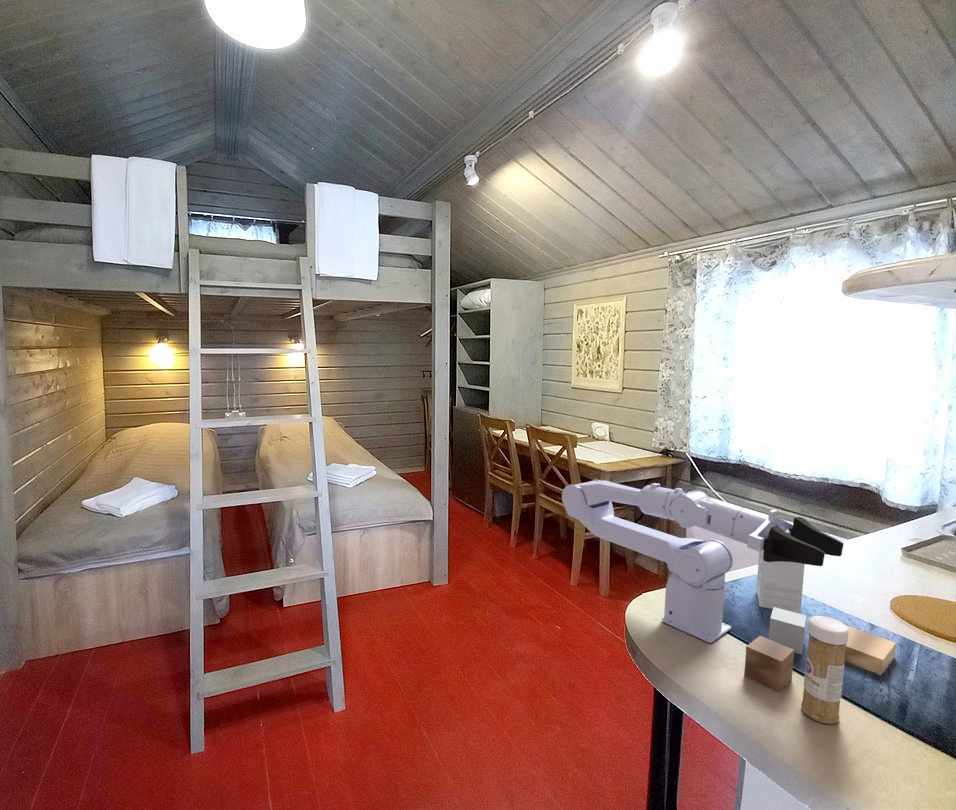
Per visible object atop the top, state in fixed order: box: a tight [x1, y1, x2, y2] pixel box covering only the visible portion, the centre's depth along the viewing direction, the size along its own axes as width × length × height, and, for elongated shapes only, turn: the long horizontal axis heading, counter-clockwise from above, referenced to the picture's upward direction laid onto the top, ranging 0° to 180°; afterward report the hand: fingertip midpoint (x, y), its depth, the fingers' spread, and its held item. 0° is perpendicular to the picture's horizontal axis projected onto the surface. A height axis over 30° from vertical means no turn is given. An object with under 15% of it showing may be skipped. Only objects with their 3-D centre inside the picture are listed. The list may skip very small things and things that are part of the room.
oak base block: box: [844, 624, 897, 674], centre depth 87 cm, size 8×8×3 cm
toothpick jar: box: [800, 615, 849, 725], centre depth 71 cm, size 5×5×13 cm
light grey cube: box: [768, 607, 807, 656], centre depth 90 cm, size 5×5×5 cm
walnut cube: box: [743, 635, 795, 694], centre depth 80 cm, size 5×5×5 cm
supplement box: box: [755, 551, 806, 614], centre depth 104 cm, size 7×7×13 cm
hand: (832, 554), depth 77 cm, fingers open, 7 cm apart
